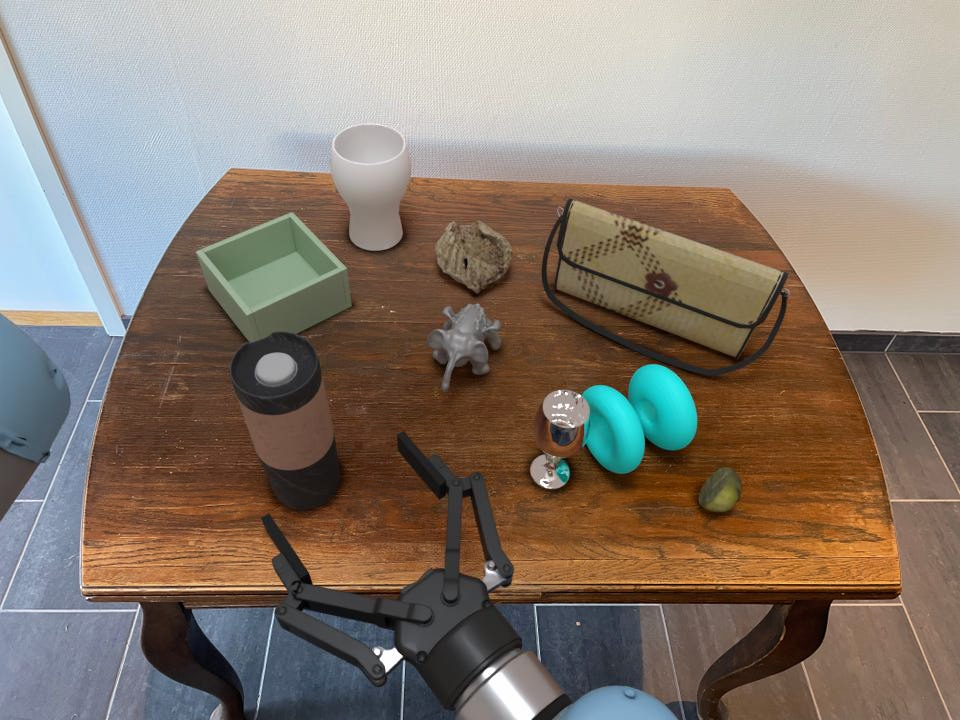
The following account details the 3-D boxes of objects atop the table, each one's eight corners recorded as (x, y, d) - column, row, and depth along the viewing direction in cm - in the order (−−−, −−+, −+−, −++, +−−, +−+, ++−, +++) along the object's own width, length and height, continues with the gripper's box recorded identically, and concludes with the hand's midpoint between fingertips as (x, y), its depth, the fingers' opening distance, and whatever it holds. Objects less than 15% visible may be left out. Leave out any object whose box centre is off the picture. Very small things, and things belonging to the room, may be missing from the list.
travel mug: (327, 520, 71) (298, 408, 56) (258, 503, 72) (211, 387, 57) (352, 459, 76) (332, 340, 61) (287, 443, 77) (251, 322, 62)
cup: (336, 257, 97) (323, 166, 85) (342, 210, 104) (331, 119, 92) (412, 258, 98) (409, 168, 86) (413, 211, 104) (411, 121, 93)
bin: (257, 353, 85) (246, 315, 80) (208, 290, 92) (195, 251, 86) (351, 306, 91) (347, 268, 86) (299, 250, 97) (292, 211, 92)
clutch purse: (527, 309, 93) (541, 220, 81) (547, 277, 97) (563, 189, 85) (746, 395, 85) (796, 311, 74) (758, 357, 89) (806, 272, 78)
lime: (700, 521, 74) (715, 499, 70) (687, 481, 77) (700, 458, 73) (739, 518, 74) (756, 496, 70) (725, 479, 77) (740, 455, 73)
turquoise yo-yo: (687, 460, 79) (714, 409, 71) (614, 494, 75) (635, 444, 68) (636, 396, 84) (657, 343, 76) (566, 425, 81) (581, 372, 73)
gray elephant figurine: (499, 333, 90) (504, 291, 84) (503, 408, 82) (509, 368, 76) (428, 331, 89) (427, 289, 83) (425, 407, 81) (425, 366, 75)
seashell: (463, 314, 95) (528, 281, 94) (444, 288, 89) (514, 253, 88) (439, 255, 101) (500, 224, 100) (420, 227, 95) (485, 193, 94)
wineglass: (560, 442, 79) (577, 378, 70) (585, 483, 76) (606, 421, 67) (515, 459, 77) (526, 395, 68) (539, 502, 74) (554, 440, 65)
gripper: (349, 811, 49) (215, 580, 59) (597, 597, 60) (448, 432, 70) (338, 795, 43) (191, 542, 53) (615, 561, 54) (449, 387, 64)
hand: (337, 479), depth 61 cm, fingers open, 13 cm apart
